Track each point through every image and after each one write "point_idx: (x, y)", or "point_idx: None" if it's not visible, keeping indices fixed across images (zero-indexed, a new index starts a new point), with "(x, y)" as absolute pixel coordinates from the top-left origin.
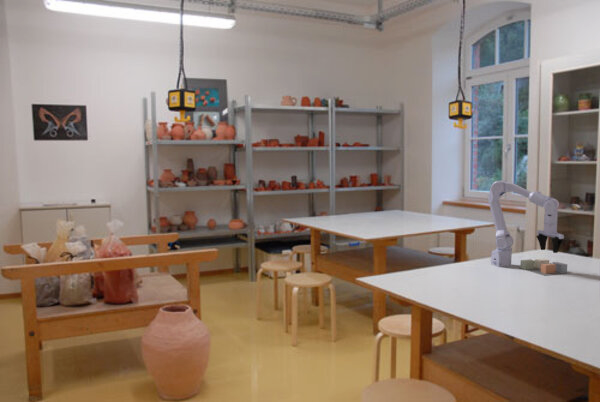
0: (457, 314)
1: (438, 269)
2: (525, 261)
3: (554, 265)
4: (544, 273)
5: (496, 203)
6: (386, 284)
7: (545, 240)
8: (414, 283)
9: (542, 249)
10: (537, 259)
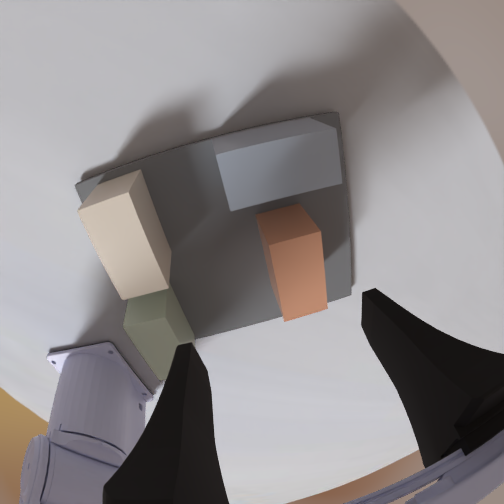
0: None
1: None
2: None
3: (320, 239)
4: None
5: None
6: (295, 497)
7: (189, 446)
8: (300, 487)
9: (205, 370)
10: (117, 283)
